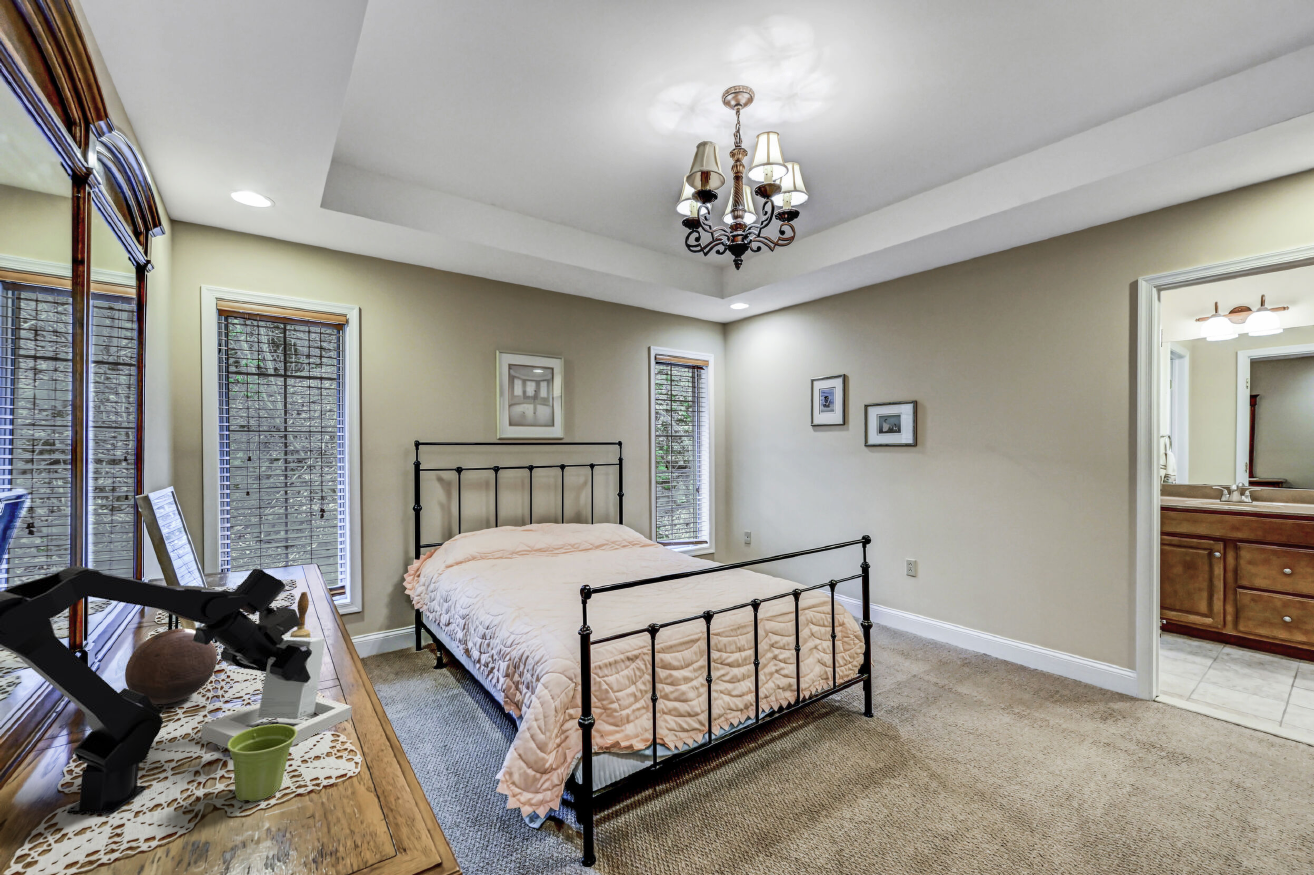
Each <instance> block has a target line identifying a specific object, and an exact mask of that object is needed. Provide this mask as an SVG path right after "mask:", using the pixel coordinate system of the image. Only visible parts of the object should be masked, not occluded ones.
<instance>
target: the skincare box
mask: <svg viewBox="0 0 1314 875" xmlns="http://www.w3.org/2000/svg"><path fill="white" fill-rule="evenodd" d="M283 638H284V640H283V641H282V643H281V644H280V645H277V647H280V648H284V649H285V647H286V646H287V645H288V644H292V643H297V644H301V645H305V646H307V647H308V648H309V649H310V650H312V654H311V656H310V657H309V658H308V660H307V661H306V662H305V665H306V668H307V670H308V672H309V675H310V677H311V678H310V680H309V681H308V682H307V683H303V682H294V681H284V680H281V679H277V678H276V677H275V676H273V675H271V674H270V665H271V664H272V663H273V662H274V660H271V659H268V664H267V669H266V672H265V676H264V682H263V688H262V694H261V698H260V702H259V703H260V708H259V714H258V718H263V719H283V720H285V719H286V720H287V719H288V720H299V719H302V718H305V717H308V716H312V715H314V709H315V703H316V697H317V696H318V691H319V682H320V676H321V670H322V662H323V658H324V657H323V656H324V651H325V650H324V649H325V643H326V637H311V638H296V637H290V636H288V637H283Z"/></svg>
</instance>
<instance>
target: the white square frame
mask: <svg viewBox="0 0 1314 875" xmlns="http://www.w3.org/2000/svg"><path fill="white" fill-rule="evenodd" d="M260 703H261V702H259V703H256V704H253V705H251V706H249V707H245V708H244V709H243V708H242V709H240V710H238V711H235V712H233V713H230V714H227V715H223V716H222V717H220V718H219V717H218V718H216V719H214V720H211V721H209V722H208V721H207V722H206V723H203V724H202V725H201V734H200V739H203V740H205V741H207V742H210V743H213V744H214V745H218V746H220V747H223V748H226V749H228V747H227V746H228V742H229V741H230V739H231V738H233V737H234V736H235V735H237V734H239V733H241V732H243V731H245V730H248V729H251V728H252V727H250V726H248V725H250V724H252V723H255V722H259V721H260V720H263V719H264V718H258V714H259V708H260ZM352 708H353V706H352V705H349V704H346V703H342V702H339V701H335V700H333V699H332V700H331V699H329V698H326V697H321V696H318V695H317V697H316V703H315V709H314V713H318V714H321V715H317V716H315V717H313V718H310V719H308V720H305V721H304V722H303V721H302V722H301V723H299V724H296V725H294V726H293V727H294V728H295V729H296V730H297V736H296V738H295V739H294V740H293V743H292V746H291V747H293V746H295V745H297V744H299V743H301V742H304V741H306V740H308V739H310V738H312V737H311V736H313V735H315V734H317V733H319V732H321V731H323V730H325V729H327V730H329V729H328V728H329V727H330V726H333V725H335V724H337V723H340V722H342V723H344V722H346V721H345V720H347V719H349V720H351V719H352ZM314 713H313V714H314ZM350 718H351V719H350ZM343 721H344V722H343ZM347 721H348V720H347ZM340 724H341V723H340ZM325 731H326V730H325ZM323 732H324V731H323ZM321 733H322V732H321ZM319 734H320V733H319ZM317 735H318V734H317ZM315 736H316V735H315ZM313 737H314V736H313Z"/></svg>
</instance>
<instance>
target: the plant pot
mask: <svg viewBox="0 0 1314 875" xmlns="http://www.w3.org/2000/svg"><path fill="white" fill-rule="evenodd" d="M296 736H297V730H296V729H295V728H294V726H292V725H288V724H281V723H277V724H276V723H274V724H266V725H264V724H263V725H259V726H255V727H251V729H248V730H245V731H243V732H241V733H239V734H237V735H235V736H234V737H233V738H231V739H230V741H229V742H228V746H227V747H228V748H227V749H228V751H229V752H230V756H231V758H232V764H233V776H234V791H235V798H236V799H237V800H238V801H241V802H243V801H250V802H256V801H261V800H263V799H266V798H269V797H271V796H273V795H275V794H276V792H277V791H278V790H279V789H281V787H282V783H283V780H284V775H285V770H286V765H287V762H288V757H289V754H290V750H291V747H293V746H292V743H293V740H294V739H295V738H296Z"/></svg>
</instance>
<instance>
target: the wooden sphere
mask: <svg viewBox="0 0 1314 875" xmlns="http://www.w3.org/2000/svg"><path fill="white" fill-rule="evenodd" d="M195 633H196V631H195V629H191V628H190V629H189V628H174V629H168V630H163V631H162V632H158V633H156V634H154V635H153V636H150V637H149V638H148V639H146V640H145V641H144V642H142V643H141V644H140V645H139V646H138V647H136V649H135V650H134V652H132V654H131V656H130V657H129V659H128V661H127V664H126V667H125V670H124V671H125V672H124V679H125V683H126V684H125V685H126V686H127V689H129V690H132V691H135V692H138V693H141V694H143V695H146V696H147V697H148V698H149V699H150V701H151V703H152V704H153V705H154V704H155V705H166V704H172V703H177V702H180V701H183V700H185V699H186V698H188V697H190V696H193V694H195V693H197V692H198V691H200V689H202V688H203V687H204V686H205V685H206V684H207V683H208V681H209V680H210V679H211V677H212V675H213V674H214V672H215V669H216V666H217V663H218V662H217V661H218V660H217V659H218V656H217V655H218V654H217V653H218V652H217V648H216V646H215V644H214V643H213V640H212V641H211V642H210V643H209V644H208V645H204V644H200V643H197V642H194V641H193V639H194V635H195Z"/></svg>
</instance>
